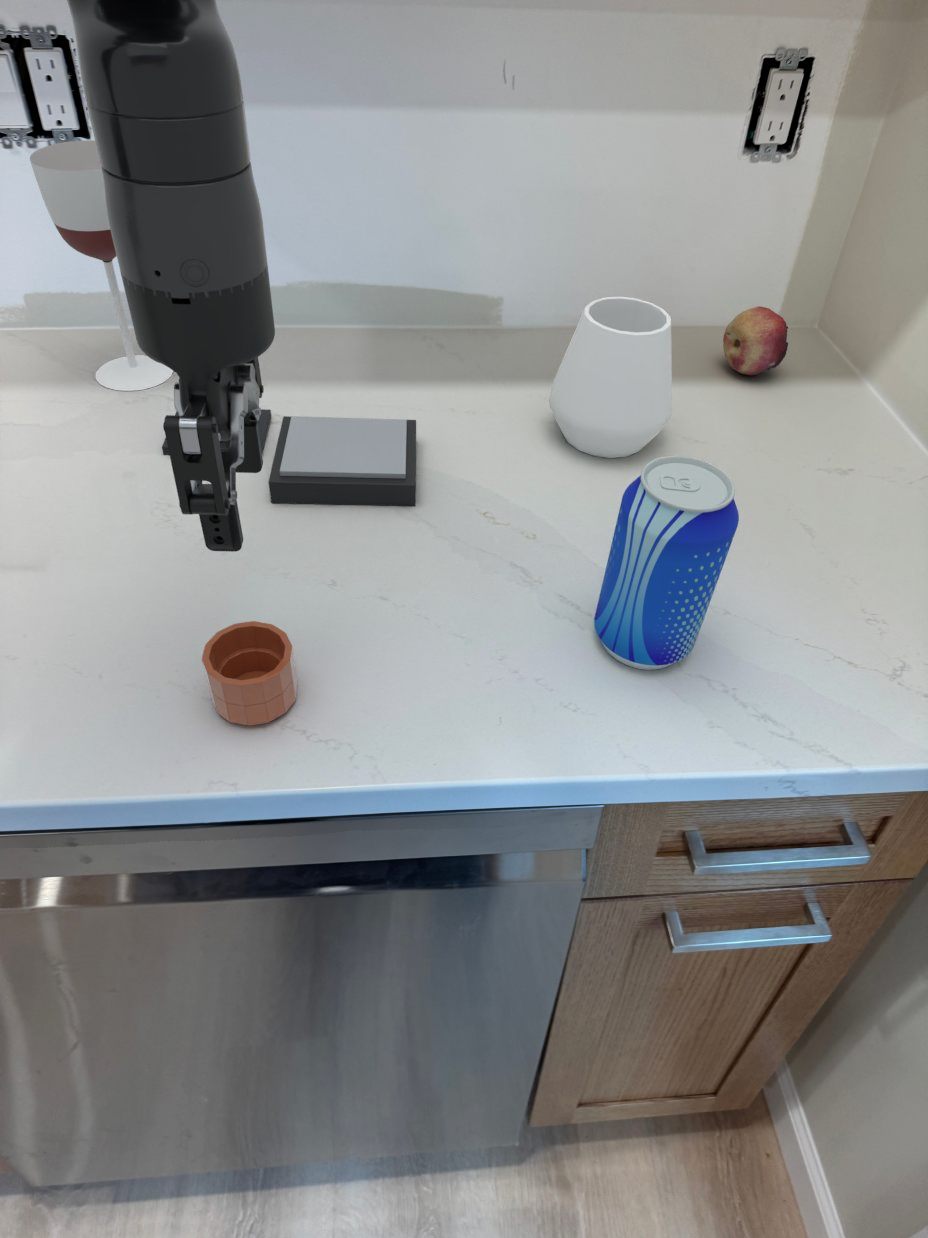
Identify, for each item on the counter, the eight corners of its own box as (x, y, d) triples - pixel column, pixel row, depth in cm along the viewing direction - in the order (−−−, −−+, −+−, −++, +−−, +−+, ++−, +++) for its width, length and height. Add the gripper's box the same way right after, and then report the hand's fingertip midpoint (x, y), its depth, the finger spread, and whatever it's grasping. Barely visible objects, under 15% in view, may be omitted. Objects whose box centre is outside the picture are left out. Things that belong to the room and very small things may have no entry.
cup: (529, 450, 89) (545, 326, 79) (561, 394, 98) (579, 277, 88) (651, 481, 86) (683, 356, 76) (673, 419, 95) (704, 301, 85)
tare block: (163, 454, 84) (158, 433, 83) (179, 413, 90) (175, 393, 88) (261, 456, 85) (258, 435, 83) (271, 416, 91) (269, 396, 89)
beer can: (631, 591, 73) (673, 435, 62) (711, 642, 69) (771, 485, 58) (570, 636, 69) (604, 476, 57) (652, 693, 65) (705, 533, 53)
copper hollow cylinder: (206, 730, 60) (194, 685, 56) (221, 665, 64) (211, 620, 61) (292, 730, 60) (285, 685, 57) (301, 666, 65) (295, 621, 61)
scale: (271, 503, 80) (267, 476, 77) (285, 436, 88) (282, 410, 86) (415, 506, 80) (415, 479, 78) (416, 439, 89) (416, 414, 87)
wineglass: (76, 387, 93) (9, 164, 77) (117, 348, 100) (63, 136, 84) (153, 398, 92) (101, 174, 76) (189, 357, 99) (148, 145, 83)
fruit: (713, 354, 108) (730, 293, 102) (772, 361, 107) (793, 300, 102) (718, 382, 102) (736, 320, 96) (780, 390, 102) (802, 327, 96)
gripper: (153, 207, 48) (201, 446, 59) (79, 312, 38) (153, 577, 49) (283, 213, 48) (305, 449, 60) (244, 319, 38) (280, 579, 50)
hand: (237, 506), depth 54 cm, fingers open, 8 cm apart
